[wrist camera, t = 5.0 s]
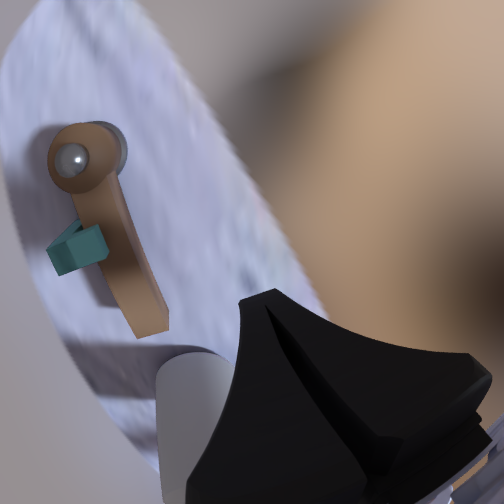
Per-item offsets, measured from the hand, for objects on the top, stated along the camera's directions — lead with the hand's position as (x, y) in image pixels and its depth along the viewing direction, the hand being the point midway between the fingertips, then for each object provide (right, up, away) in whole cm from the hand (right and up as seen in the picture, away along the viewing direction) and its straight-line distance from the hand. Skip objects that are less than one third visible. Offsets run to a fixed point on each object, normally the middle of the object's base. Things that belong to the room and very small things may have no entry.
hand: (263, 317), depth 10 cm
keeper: (-9, +4, +5) cm, 11 cm away
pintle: (-9, +8, +3) cm, 12 cm away
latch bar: (-8, +4, +5) cm, 10 cm away
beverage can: (-5, -7, +11) cm, 14 cm away
